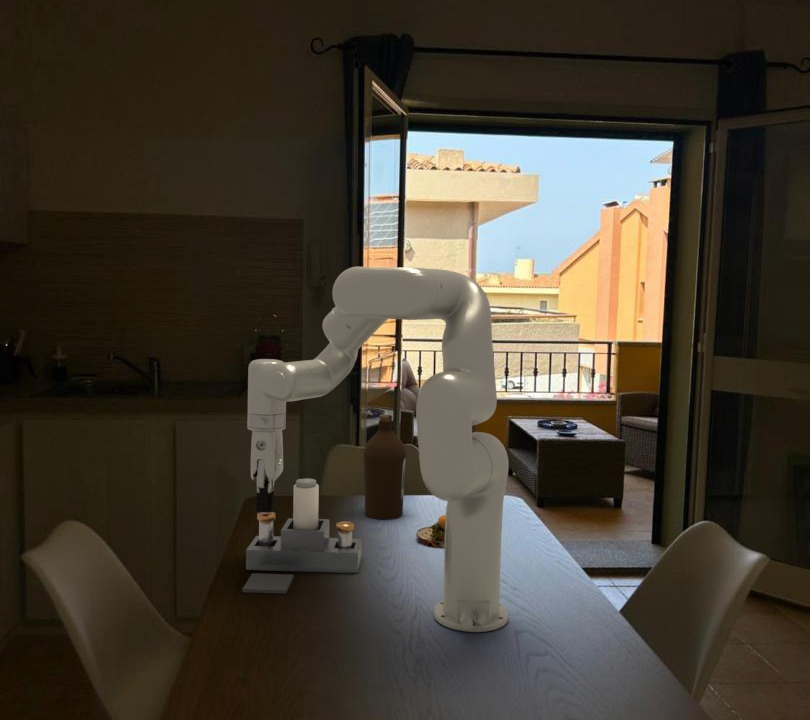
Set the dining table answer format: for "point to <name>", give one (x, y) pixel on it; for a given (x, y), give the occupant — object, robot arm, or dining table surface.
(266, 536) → the plunger
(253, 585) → the mat
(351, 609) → the dining table surface
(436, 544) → the burger
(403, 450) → the olive oil
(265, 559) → the housing
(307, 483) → the cylinder
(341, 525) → the plunger
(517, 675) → the dining table surface
